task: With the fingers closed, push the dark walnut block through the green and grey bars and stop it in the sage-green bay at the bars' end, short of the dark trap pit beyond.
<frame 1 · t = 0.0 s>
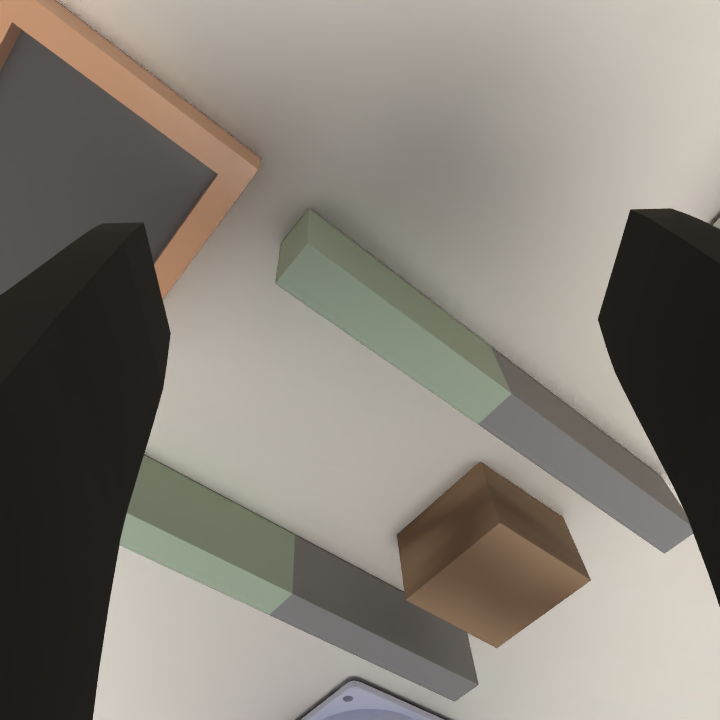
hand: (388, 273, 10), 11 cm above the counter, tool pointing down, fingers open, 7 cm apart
trap pit: (35, 253, 21), on the counter
green and grey bars: (391, 472, 26), on the counter
walnut block: (479, 523, 28), on the counter
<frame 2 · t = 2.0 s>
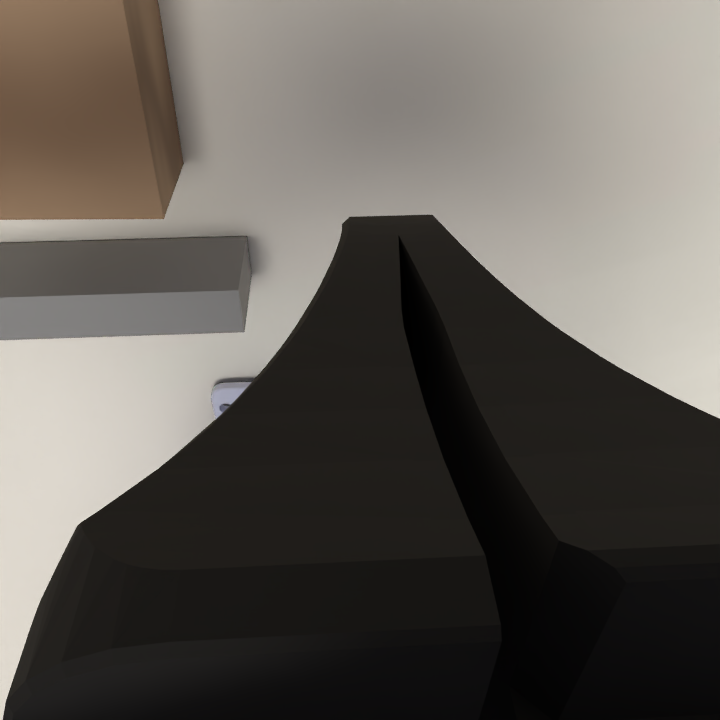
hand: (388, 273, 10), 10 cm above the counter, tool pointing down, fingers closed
walnut block: (75, 71, 18), on the counter
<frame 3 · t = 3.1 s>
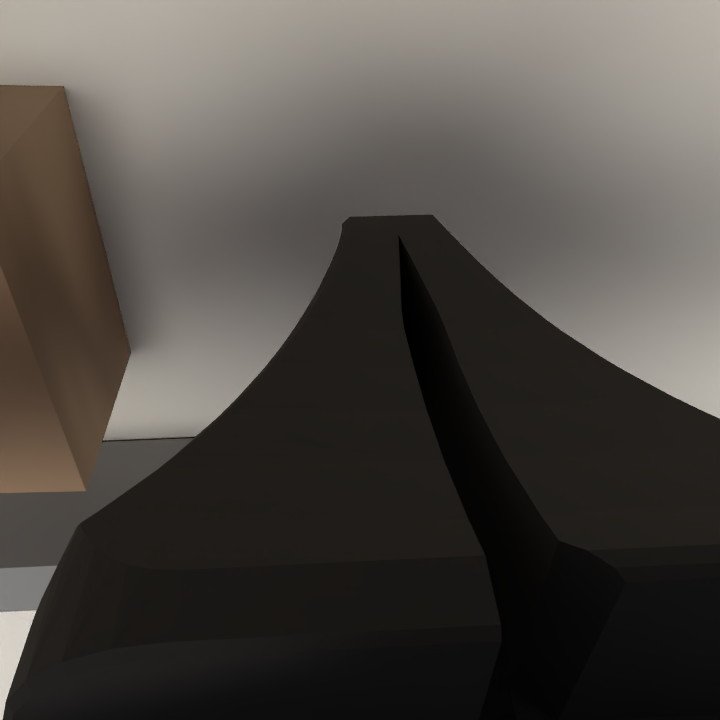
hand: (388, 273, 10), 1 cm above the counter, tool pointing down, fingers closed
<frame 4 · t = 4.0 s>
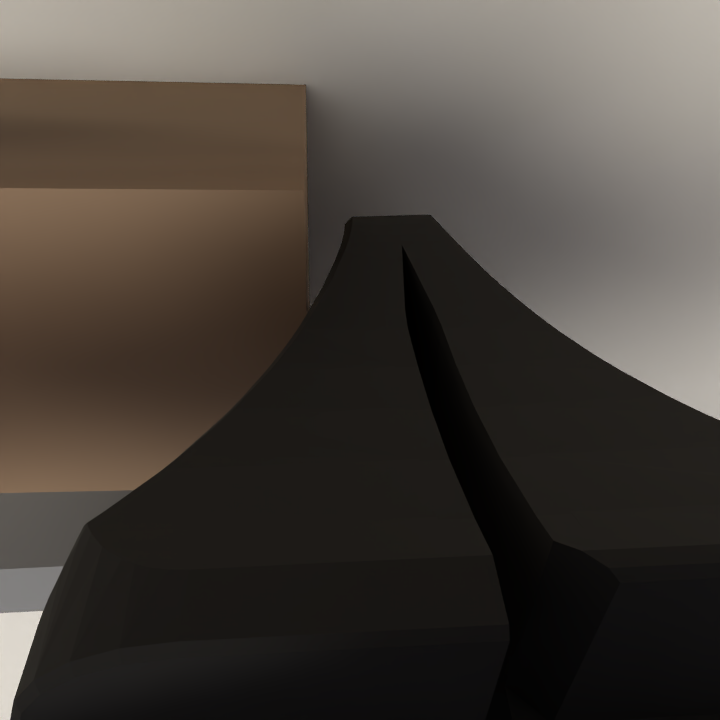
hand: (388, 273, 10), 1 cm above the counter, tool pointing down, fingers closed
walnut block: (160, 231, 11), on the counter, touching gripper
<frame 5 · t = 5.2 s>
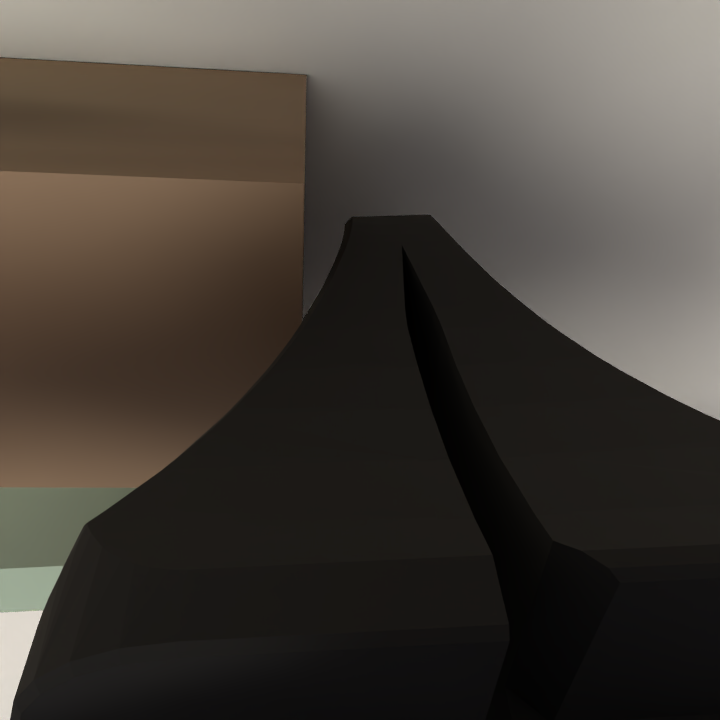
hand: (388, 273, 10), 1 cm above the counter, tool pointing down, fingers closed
green and grey bars: (278, 232, 11), on the counter
walnut block: (152, 223, 11), on the counter, touching gripper
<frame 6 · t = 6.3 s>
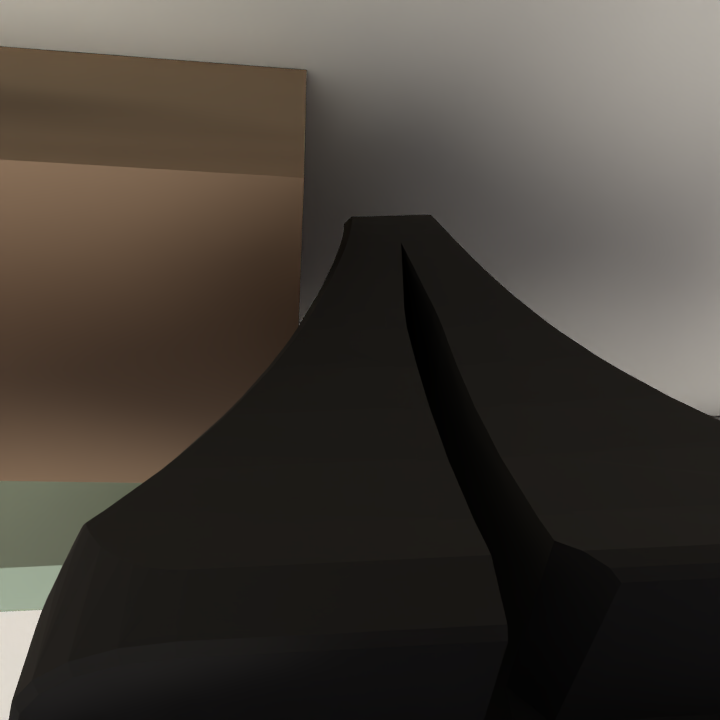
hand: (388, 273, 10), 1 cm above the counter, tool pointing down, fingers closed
green and grey bars: (439, 226, 11), on the counter
walnut block: (148, 217, 11), on the counter, touching gripper
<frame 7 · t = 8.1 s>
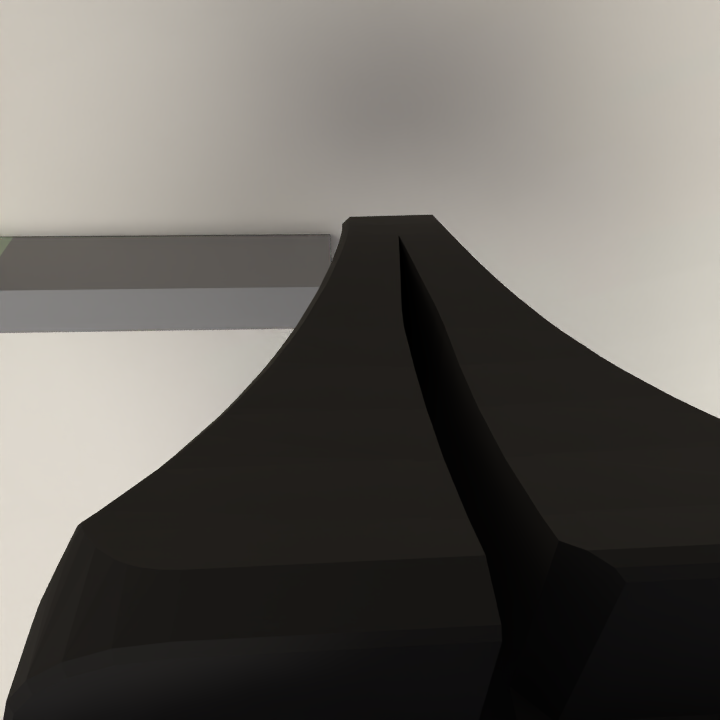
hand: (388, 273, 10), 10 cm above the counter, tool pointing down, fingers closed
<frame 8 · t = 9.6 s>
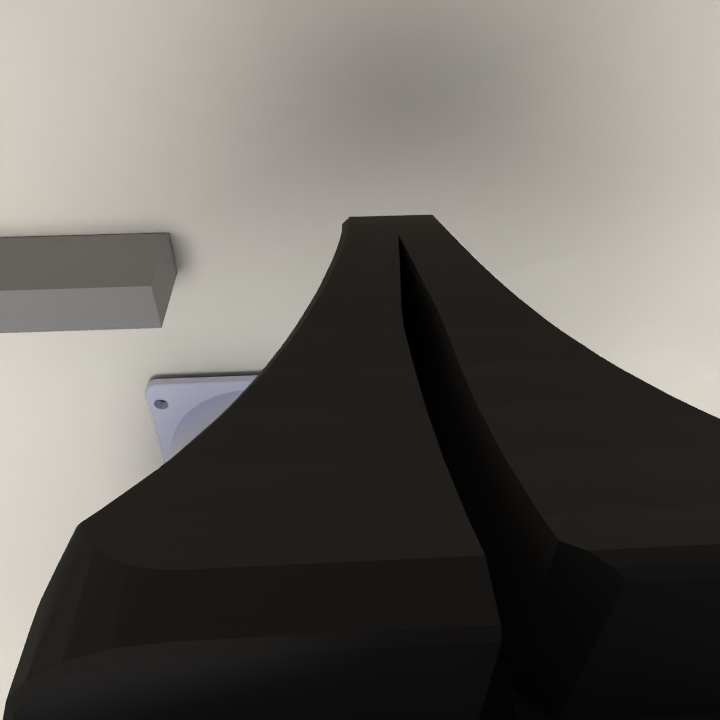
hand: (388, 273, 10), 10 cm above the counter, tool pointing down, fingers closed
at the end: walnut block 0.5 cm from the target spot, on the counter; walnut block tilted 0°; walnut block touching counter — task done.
